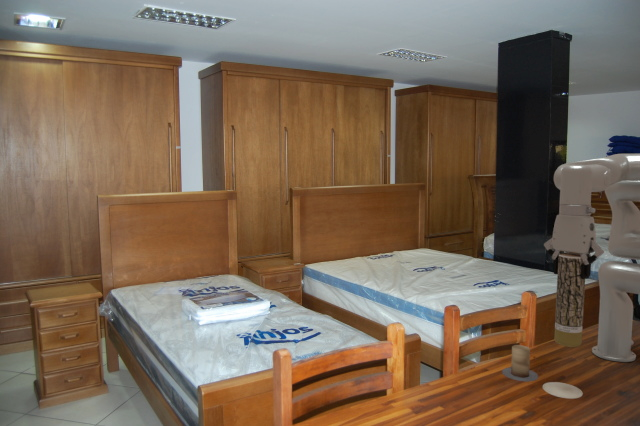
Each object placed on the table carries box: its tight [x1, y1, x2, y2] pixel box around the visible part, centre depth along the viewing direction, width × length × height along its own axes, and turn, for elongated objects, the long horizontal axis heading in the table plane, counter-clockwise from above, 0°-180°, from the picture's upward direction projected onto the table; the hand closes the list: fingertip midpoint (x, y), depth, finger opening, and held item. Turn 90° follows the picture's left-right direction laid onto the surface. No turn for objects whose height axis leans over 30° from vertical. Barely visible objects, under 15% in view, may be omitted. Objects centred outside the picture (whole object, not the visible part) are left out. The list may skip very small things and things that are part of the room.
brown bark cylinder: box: [553, 252, 586, 348], centre depth 137 cm, size 7×7×25 cm
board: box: [501, 366, 539, 382], centre depth 144 cm, size 12×23×1 cm, turn 35°
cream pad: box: [542, 381, 584, 400], centre depth 139 cm, size 10×10×1 cm
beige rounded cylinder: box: [510, 344, 531, 378], centre depth 149 cm, size 5×5×8 cm
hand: (571, 275), depth 137 cm, fingers closed on brown bark cylinder, 6 cm apart
